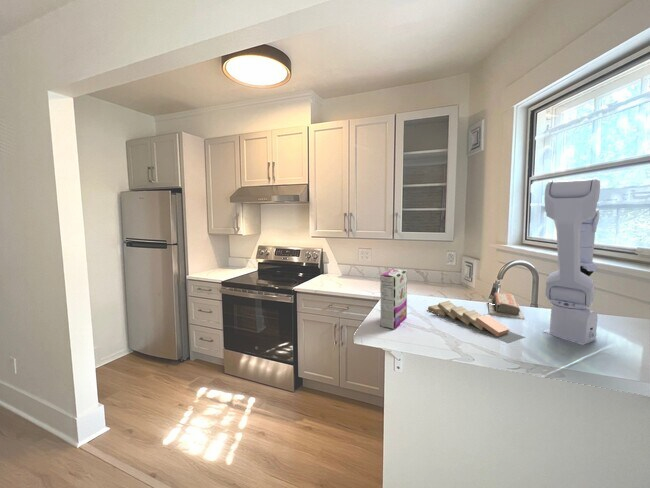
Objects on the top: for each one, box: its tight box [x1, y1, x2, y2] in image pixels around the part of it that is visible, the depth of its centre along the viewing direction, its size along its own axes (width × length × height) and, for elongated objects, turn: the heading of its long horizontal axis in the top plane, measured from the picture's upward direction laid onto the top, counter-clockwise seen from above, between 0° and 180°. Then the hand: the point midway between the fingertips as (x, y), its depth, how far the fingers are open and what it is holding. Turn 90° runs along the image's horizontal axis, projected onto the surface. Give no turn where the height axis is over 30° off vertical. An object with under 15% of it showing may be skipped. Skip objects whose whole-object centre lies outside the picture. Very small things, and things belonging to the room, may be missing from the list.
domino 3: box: [450, 305, 472, 325], centre depth 92 cm, size 1×5×7 cm
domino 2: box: [437, 300, 458, 320], centre depth 97 cm, size 1×5×7 cm
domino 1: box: [427, 304, 448, 316], centre depth 100 cm, size 1×5×7 cm
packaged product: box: [487, 292, 525, 320], centre depth 103 cm, size 18×5×10 cm
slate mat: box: [436, 314, 526, 344], centre depth 89 cm, size 24×8×1 cm, turn 27°
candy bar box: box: [379, 268, 408, 330], centre depth 91 cm, size 11×5×16 cm, turn 146°
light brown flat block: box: [462, 309, 486, 331], centre depth 88 cm, size 1×5×7 cm
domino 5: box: [476, 314, 510, 336], centre depth 84 cm, size 1×5×7 cm
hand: (577, 289), depth 91 cm, fingers closed
